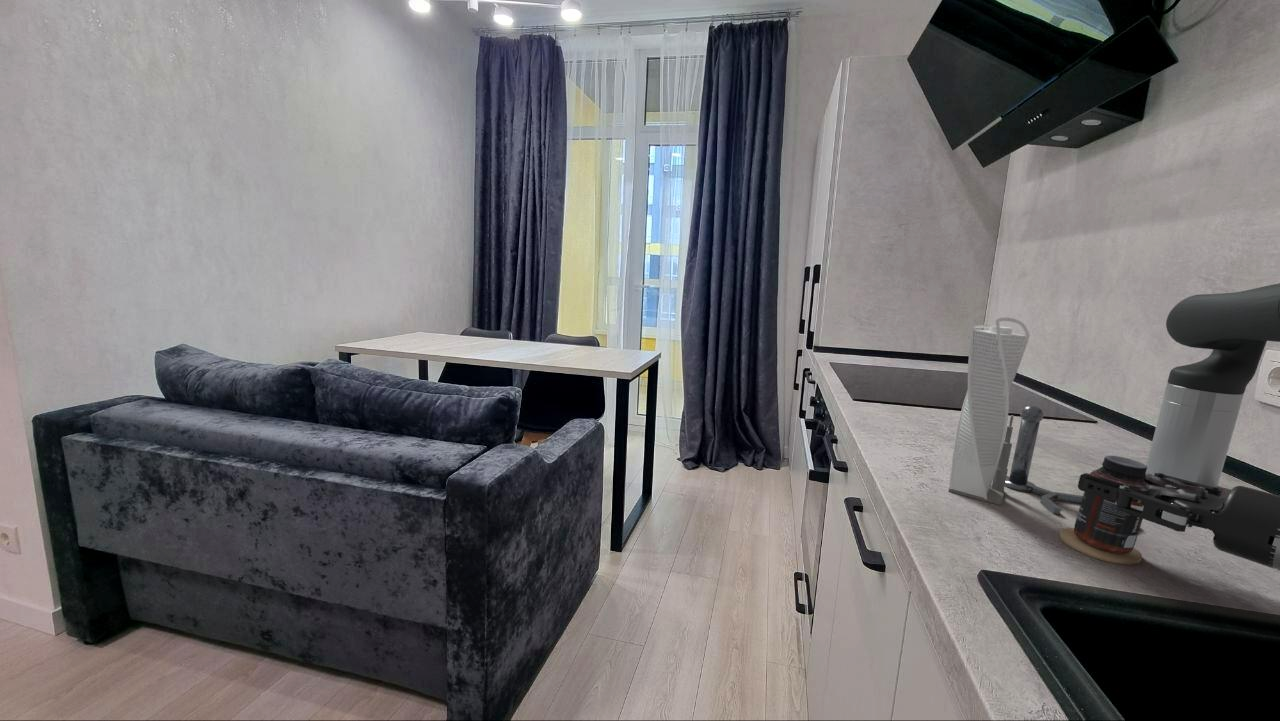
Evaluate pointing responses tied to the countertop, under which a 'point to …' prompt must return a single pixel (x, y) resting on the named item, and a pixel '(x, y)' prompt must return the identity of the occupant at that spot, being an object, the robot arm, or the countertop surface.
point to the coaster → (1099, 550)
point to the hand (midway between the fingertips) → (1091, 476)
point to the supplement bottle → (1111, 509)
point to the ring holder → (1023, 462)
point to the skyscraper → (987, 413)
